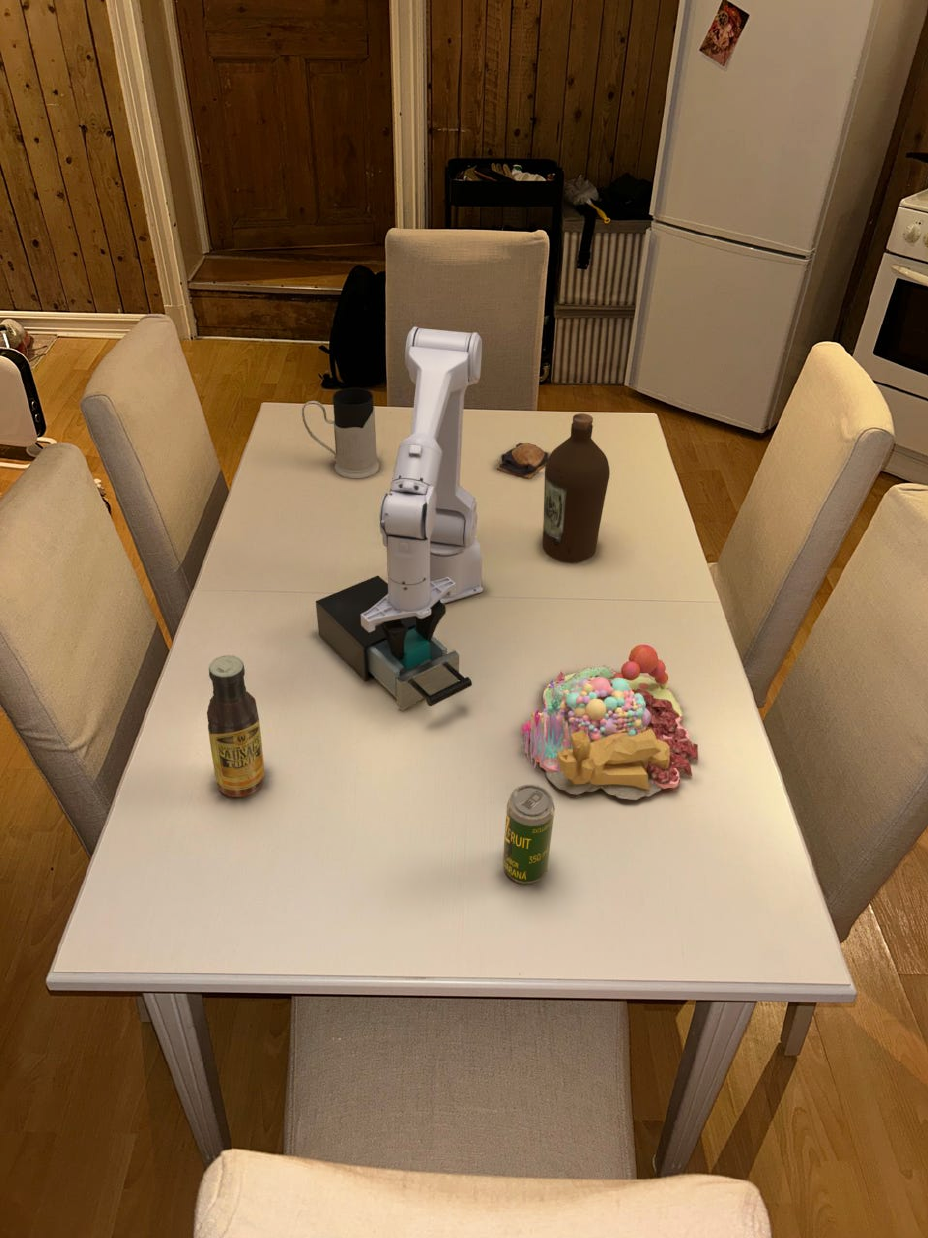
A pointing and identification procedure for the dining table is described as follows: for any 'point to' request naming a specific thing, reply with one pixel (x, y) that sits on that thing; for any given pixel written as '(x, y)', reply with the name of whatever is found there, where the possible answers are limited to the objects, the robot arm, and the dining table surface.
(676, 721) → the candy landscape model
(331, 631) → the black storage box
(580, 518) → the olive oil
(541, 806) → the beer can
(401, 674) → the drawer
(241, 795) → the sauce bottle
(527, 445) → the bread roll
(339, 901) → the dining table surface
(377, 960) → the dining table surface
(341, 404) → the glass holder
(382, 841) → the dining table surface
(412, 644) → the block
